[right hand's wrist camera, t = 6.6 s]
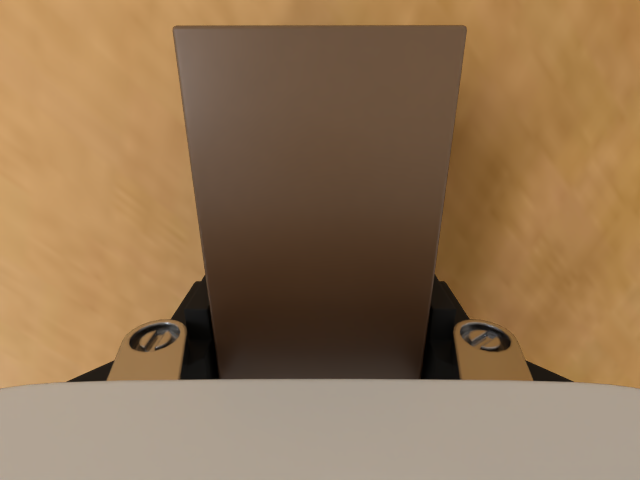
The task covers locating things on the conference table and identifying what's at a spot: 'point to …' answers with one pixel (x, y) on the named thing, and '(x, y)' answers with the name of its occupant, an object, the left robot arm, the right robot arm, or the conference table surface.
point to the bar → (319, 191)
